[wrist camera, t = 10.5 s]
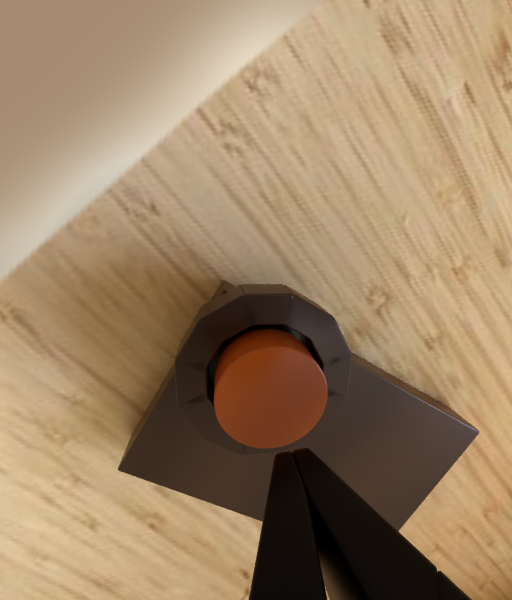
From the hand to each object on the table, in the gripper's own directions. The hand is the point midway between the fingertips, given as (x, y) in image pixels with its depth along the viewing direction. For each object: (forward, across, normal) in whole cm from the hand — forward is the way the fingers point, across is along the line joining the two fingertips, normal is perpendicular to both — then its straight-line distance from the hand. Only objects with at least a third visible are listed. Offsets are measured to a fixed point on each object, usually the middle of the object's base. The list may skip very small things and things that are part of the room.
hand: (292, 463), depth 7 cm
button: (+5, 0, 0) cm, 5 cm away
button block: (+8, -2, +6) cm, 10 cm away
